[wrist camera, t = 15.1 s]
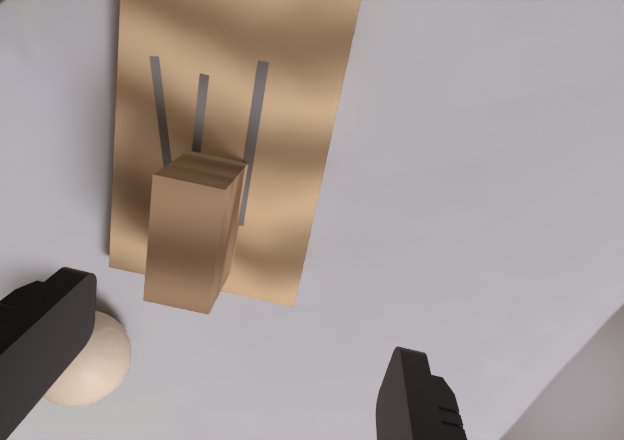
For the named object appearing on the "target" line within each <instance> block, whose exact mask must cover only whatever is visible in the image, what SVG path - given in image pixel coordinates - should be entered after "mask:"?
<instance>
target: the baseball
mask: <svg viewBox="0 0 624 440" xmlns="http://www.w3.org/2000/svg"><path fill="white" fill-rule="evenodd" d="M130 361H131V344H130V340H129V337H128V335H127V333H126V331H125V329H124V328H123V326H122V325H121V324H120V323H119V322H118V321H117V320H115V319H114V318H112V317H111V316H109V315H107V314H105V313H102V312H99V311H95V325H94V330H93V333H92V335H91V338H90V340H89V341H88V343H87V345H86V346H85V347H84V348H83V350H82V351H81V352H80V353H79V354H78V356H77V357H76V358H75V359H74V360H73V361H72V363H71V364H70V365H69V366H68V367H67V369H66V370H65V371H64V372H63V373H62V374H61V376H60V377H59V378H58V379H57V380H56V381H55V383H54V384H53V385H52V386H51V387H50V389H49V390H48V391H47V392H46V393H45V394H44V396H43V397H44V398H45V399H47V400H48V401H50V402H52V403H55V404H58V405H63V406H69V407H75V406H83V405H87V404H91V403H94V402H96V401H98V400H100V399H102V398H103V397H105V396H106V395H108V394H110V393H111V392H112V391H113V390H114V389H115V388H116V387H117V386H118V385H119V384H120V383H121V382H122V380H123V379H124V377H125V376H126V374H127V371H128V368H129V365H130Z"/></svg>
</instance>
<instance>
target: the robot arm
mask: <svg viewBox="0 0 624 440" xmlns="http://www.w3.org/2000/svg"><path fill="white" fill-rule="evenodd" d="M96 285H97V280H96V276H95V274H93V273H89V272H84V271H80V270H76V269H72V268H67V267H63V268H61V269H59V270H58V271H57V272H56V273H55V274H53V275H52V276H51V277H50V278H48V279H47V280H46V281H45V282H40V281H35V282H33V283H30V284H28V285H25V286H23V287H20V288H18V289H15V290H14V291H12V292H11V293H10V294H9V295H7V296H6V297H5V298H3V299H2V300H1V301H0V440H6V439H7V438H8V437H9V436H10V434H11V433H12V432H13V431H14V430H15V429H16V427H17V426H18V425H19V424H20V423H21V421H22V420H23V419H24V418H25V417H26V416H27V414H28V413H29V412H30V411H31V410H32V409H33V407H34V406H35V405H36V404H37V403H38V401H39V400H40V399H41V398H42V397H43V396H44V394H45V393H46V392H47V391H48V390H49V389H50V387H51V386H52V385H53V384H54V383H55V381H56V380H57V379H58V378H59V377H60V376H61V374H62V373H63V372H64V371H65V370H66V369H67V367H68V366H69V365H70V364H71V363H72V361H73V360H74V359H75V358H76V357H77V356H78V354H79V353H80V352H81V351H82V350H83V348H84V347H85V346H86V345H87V343H88V341H89V340H90V338H91V335H92V333H93V330H94V325H95V310H96ZM376 429H377V440H467V438H466V434H465V430H464V429H463V423H462V419H461V416H460V415H459V409H458V405H457V401H456V398H455V394H454V393H453V391H452V390H451V389H450V387H449V386H448V384H447V383H446V382H445V380H444V379H443V377H438V376H434V375H431V372H430V368H429V363H428V359H427V355H426V354H425V353H423V352H419V351H415V350H410V349H406V348H402V347H396V348H395V350H394V352H393V354H392V357H391V360H390V363H389V365H388V368H387V371H386V374H385V376H384V379H383V382H382V385H381V387H380V390H379V394H378V398H377V404H376Z"/></svg>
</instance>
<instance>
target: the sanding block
mask: <svg viewBox="0 0 624 440" xmlns="http://www.w3.org/2000/svg"><path fill="white" fill-rule="evenodd" d="M247 168H248V163H244V162H240V161H235V160H231V159H226V158H221V157H217V156H212V155H207V154H203V153H198V152H193V151H188V152H186V153H185V154H183V155H181V156H180V157H178V158H177V159H175V160H174V161H172V162H171V163H169V164H168V165H166V166H165V167H163V168H162V169H160V170H159V171H157V172H156V173H154V174H153V177H152V191H151V204H150V218H149V231H148V245H147V258H146V272H145V285H144V299H143V301H148V302H153V303H157V304H162V305H167V306H171V307H176V308H181V309H185V310H190V311H195V312H199V313H204V314H209V312H210V311H211V309H212V307H213V305H214V303H215V301H216V299H217V297H218V295H219V293H220V291H221V289H222V288H223V286H224V284H225V282H226V280H227V278H228V276H229V274H230V272H231V270H232V267H233V260H234V254H235V247H236V241H237V234H238V227H239V221H240V214H241V208H242V201H243V195H244V188H245V181H246V175H247Z"/></svg>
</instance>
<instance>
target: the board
mask: <svg viewBox="0 0 624 440" xmlns="http://www.w3.org/2000/svg"><path fill="white" fill-rule="evenodd" d="M360 2H361V0H120V17H119V41H118V65H117V88H116V112H115V136H114V159H113V183H112V206H111V230H110V254H109V267H111V268H116V269H121V270H125V271H130V272H135V273H139V274H144V275H145V272H146V258H147V245H148V231H149V218H150V204H151V191H152V177H153V174H154V173H156V172H157V171H159V170H160V169H162V168H163V167H165V166H166V165H168V164H169V163H171V162H172V161H174V160H175V159H177V158H178V157H180V156H181V155H183V154H185V153H186V152H188V151H193V152H198V153H203V154H207V155H212V156H217V157H221V158H226V159H231V160H235V161H240V162H244V163H248V168H247V175H246V181H245V188H244V195H243V201H242V208H241V214H240V221H239V227H238V234H237V241H236V247H235V254H234V260H233V267H232V270H231V272H230V274H229V276H228V278H227V280H226V282H225V284H224V286H223V288H222V289H221V291H223V292H227V293H232V294H237V295H241V296H246V297H250V298H255V299H260V300H264V301H269V302H274V303H278V304H283V305H288V306H292V307H294V306H295V301H296V296H297V292H298V287H299V283H300V278H301V273H302V269H303V264H304V260H305V255H306V250H307V246H308V241H309V237H310V232H311V227H312V223H313V218H314V214H315V209H316V204H317V200H318V195H319V191H320V186H321V181H322V177H323V172H324V168H325V163H326V158H327V154H328V149H329V145H330V140H331V135H332V131H333V126H334V122H335V117H336V112H337V108H338V103H339V99H340V94H341V89H342V85H343V80H344V76H345V71H346V66H347V62H348V57H349V53H350V48H351V43H352V39H353V34H354V30H355V25H356V20H357V16H358V11H359V7H360Z"/></svg>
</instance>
